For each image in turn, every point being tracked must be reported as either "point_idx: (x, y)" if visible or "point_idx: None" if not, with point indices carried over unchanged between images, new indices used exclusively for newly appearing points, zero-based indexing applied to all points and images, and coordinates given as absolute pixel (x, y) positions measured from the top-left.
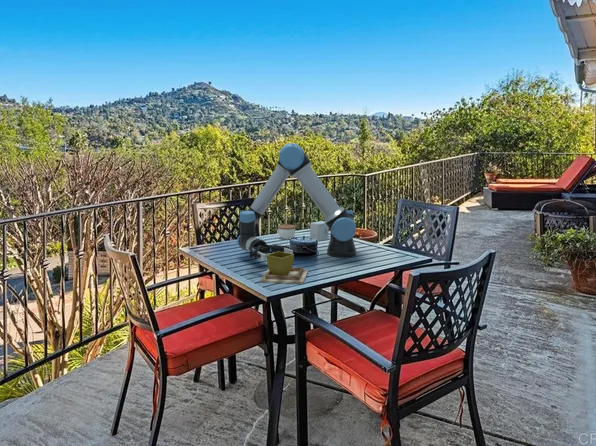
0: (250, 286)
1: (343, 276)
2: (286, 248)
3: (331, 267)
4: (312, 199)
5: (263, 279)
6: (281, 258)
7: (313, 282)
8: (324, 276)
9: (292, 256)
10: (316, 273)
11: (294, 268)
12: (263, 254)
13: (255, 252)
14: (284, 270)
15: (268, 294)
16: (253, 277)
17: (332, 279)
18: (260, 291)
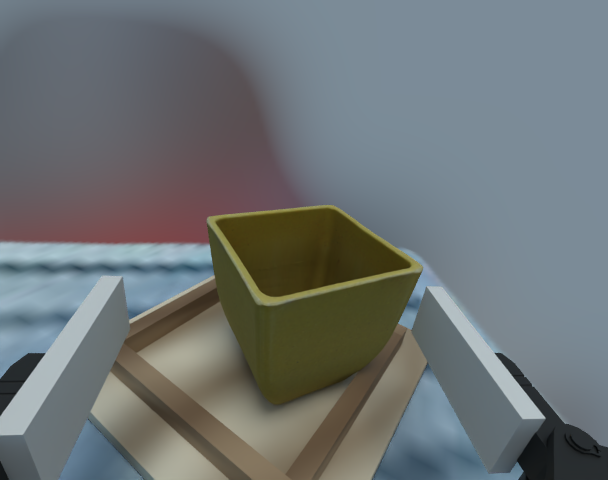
0: (480, 329)
1: (21, 253)
2: (41, 379)
3: None
4: None
5: (414, 342)
6: (334, 206)
7: (200, 260)
8: (81, 284)
9: (229, 224)
10: (48, 332)
11: (151, 368)
12: (448, 296)
13: (569, 427)
14: (294, 289)
15: (408, 254)
16: (478, 462)
17: (103, 251)
18: (434, 277)
